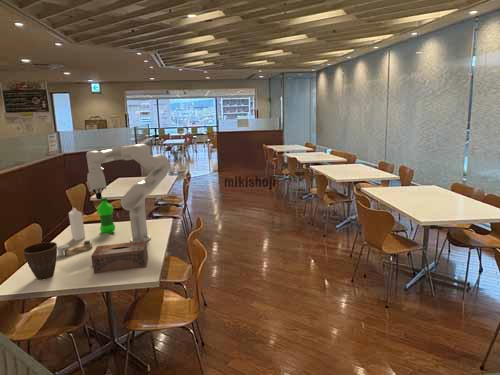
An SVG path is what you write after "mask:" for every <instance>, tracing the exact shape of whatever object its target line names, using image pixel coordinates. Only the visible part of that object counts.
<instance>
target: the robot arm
mask: <svg viewBox="0 0 500 375" xmlns="http://www.w3.org/2000/svg"><path fill="white" fill-rule="evenodd" d="M86 160H87V161H86V162H87V168H88V169H87V170H88V173H87V177H86V178H87V180H86V181H87V189H88V192H93V193H94V194H95V198H96V200H99V201H101V200H100V199H101V198H102V193H103V191H105V190H106V189H107V182H106V178H105V177H106V176H105V174H104V172H103V171H104V169H105V168H104V167H102V164H104V163H109V162H112V161H119V160H124V161H130V160H134V161H135V162H137V163H138V164H139V165H141V166H143V168H145V169H147V170H148V171H150V172H149V173H148V175H147V176H146V177H145V178H144V179H142V180H141V181H139V182H136V183H135V184H133V185H132V187H131V188H130V189H129V190H128V191H126V193H125V194H124V195H123V196H122V197H121V201H120V205H121V207H122V209H124V210H126V211H129V221H130V228H131V230H130V231H131V236H132V237H131V238H129V241H130V242H139V241H146V242H148V241H150V240H151V235H149V234H148V227H147V226H148V224H147V216H146V215H147V214H146V197H148V196H149V195H151V194H152V193H153V192H154V190H155V189H156V188H158V186H159V185H160V184H161V182H163V180H164V179H165V178H166V177H167V175H168V173H169V169H170V162H169V159H168V157H167V156H165V155H164V154H155V155H152V154H151V148H150V146H149V145H147V144H146V143H139V144H132V145H125V146H121V147H116V148H108V149H103V150H89V151H87V152H86ZM130 242H129V243H130Z"/></svg>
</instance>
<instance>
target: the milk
mask: <svg viewBox="0 0 500 375" xmlns="http://www.w3.org/2000/svg"><path fill="white" fill-rule="evenodd" d="M68 218H69V225H70V231H71V232H70V233H71V238H72V240H74V241H80V240H84V239H86V232H85V225H84V221H83V213H82V212H81V211H80V210H78V209H77V208H76V207H72V209H71V210H70V211H69V212H68Z"/></svg>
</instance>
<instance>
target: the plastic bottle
mask: <svg viewBox="0 0 500 375" xmlns="http://www.w3.org/2000/svg"><path fill="white" fill-rule="evenodd" d="M99 201H100V202H101V203H100V204H99V205H98V206H97V209H96V212H97V215H99V220H100V228H99V231H100V232H101V233H102V234H108V235H112V234H113V233H114V232H115V229H116V225H115V223H114V220H113V219H114V218H113V212H114V207H113V205H112V204H111V203H109V202H108V197H107V196H104V197H102V198H101V199H100V200H99Z"/></svg>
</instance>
